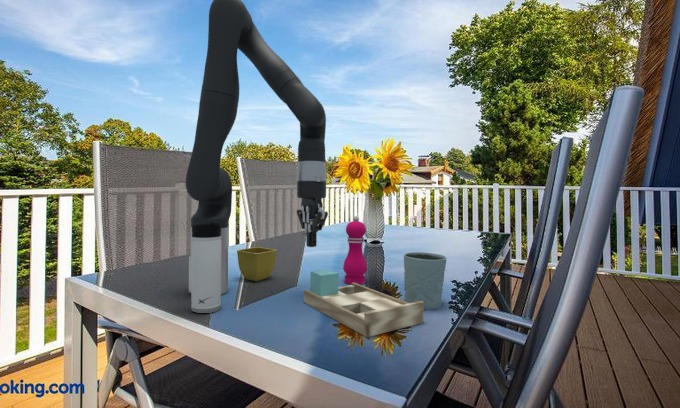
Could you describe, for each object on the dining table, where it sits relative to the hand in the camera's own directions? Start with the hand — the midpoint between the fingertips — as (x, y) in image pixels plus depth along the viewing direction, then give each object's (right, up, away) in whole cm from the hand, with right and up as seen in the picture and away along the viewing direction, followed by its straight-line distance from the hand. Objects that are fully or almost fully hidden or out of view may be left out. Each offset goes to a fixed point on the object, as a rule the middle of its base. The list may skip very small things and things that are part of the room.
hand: (311, 246), depth 95 cm
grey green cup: (+28, -14, -5) cm, 31 cm away
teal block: (+4, -11, -5) cm, 12 cm away
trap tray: (+12, -13, -12) cm, 21 cm away
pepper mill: (+12, -13, +15) cm, 23 cm away
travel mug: (-23, -13, -12) cm, 29 cm away
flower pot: (-18, -12, +17) cm, 28 cm away
